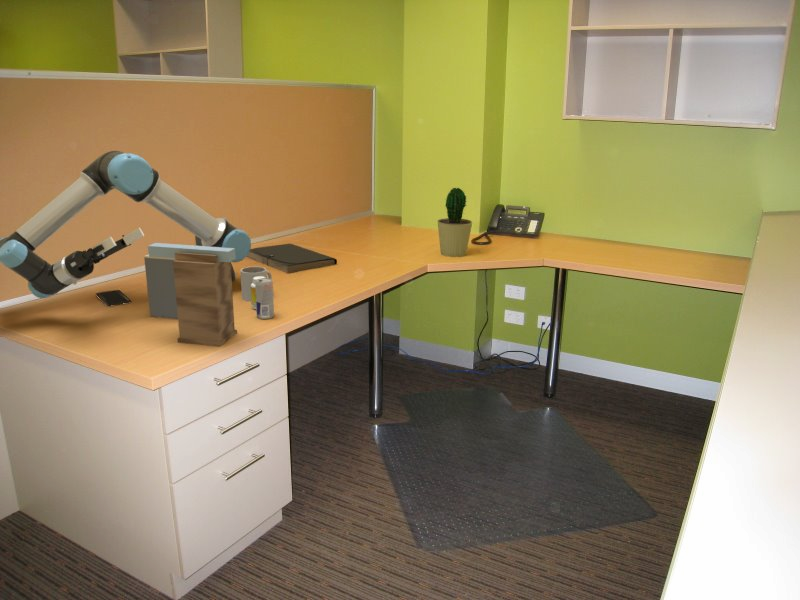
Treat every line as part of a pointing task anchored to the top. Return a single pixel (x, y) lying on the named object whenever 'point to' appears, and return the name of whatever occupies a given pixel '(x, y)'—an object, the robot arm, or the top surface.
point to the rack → (203, 299)
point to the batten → (190, 251)
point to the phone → (113, 297)
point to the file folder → (290, 258)
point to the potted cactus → (454, 226)
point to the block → (161, 287)
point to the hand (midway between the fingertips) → (128, 236)
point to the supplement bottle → (254, 291)
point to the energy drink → (264, 298)
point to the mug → (251, 279)
